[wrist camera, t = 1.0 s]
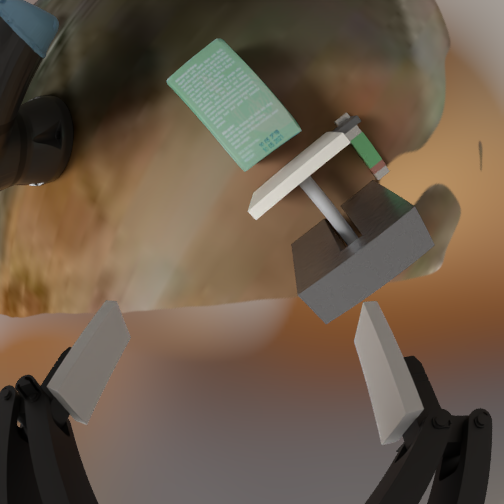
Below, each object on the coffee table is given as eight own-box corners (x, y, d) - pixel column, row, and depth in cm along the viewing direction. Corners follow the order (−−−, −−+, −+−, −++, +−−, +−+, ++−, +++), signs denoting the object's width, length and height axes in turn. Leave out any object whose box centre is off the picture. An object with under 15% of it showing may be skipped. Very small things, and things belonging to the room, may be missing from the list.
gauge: (245, 195, 34) (232, 228, 23) (345, 112, 29) (381, 106, 18) (313, 269, 38) (326, 324, 27) (405, 198, 32) (451, 230, 22)
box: (228, 51, 26) (216, 33, 20) (298, 130, 30) (305, 130, 24) (183, 88, 29) (160, 80, 22) (251, 165, 33) (245, 175, 26)
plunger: (253, 192, 34) (247, 211, 27) (347, 115, 29) (369, 112, 21) (317, 263, 37) (326, 296, 30) (403, 196, 32) (432, 214, 25)
